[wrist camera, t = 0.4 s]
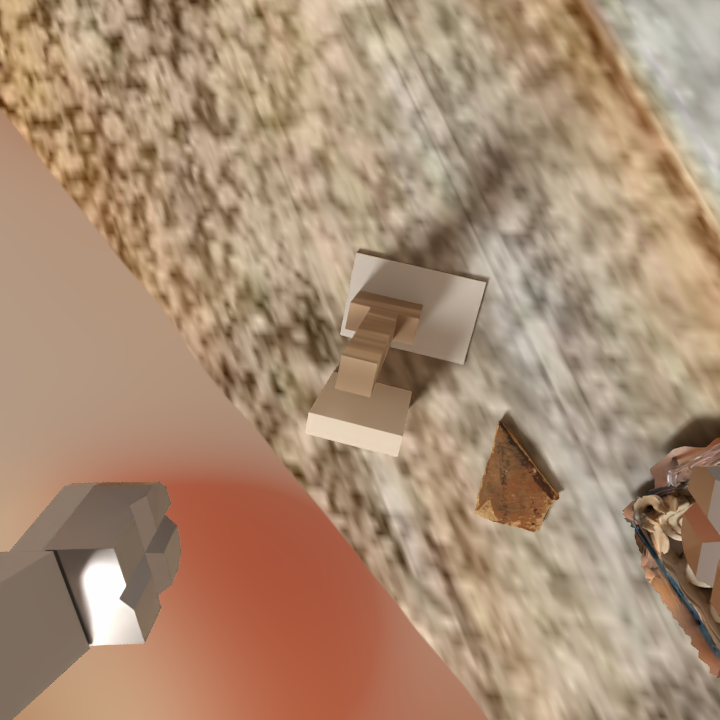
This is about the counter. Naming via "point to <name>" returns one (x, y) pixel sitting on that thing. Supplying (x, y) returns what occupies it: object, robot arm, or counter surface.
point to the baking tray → (660, 562)
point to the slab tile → (361, 417)
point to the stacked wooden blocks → (374, 338)
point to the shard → (513, 486)
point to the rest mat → (423, 303)
